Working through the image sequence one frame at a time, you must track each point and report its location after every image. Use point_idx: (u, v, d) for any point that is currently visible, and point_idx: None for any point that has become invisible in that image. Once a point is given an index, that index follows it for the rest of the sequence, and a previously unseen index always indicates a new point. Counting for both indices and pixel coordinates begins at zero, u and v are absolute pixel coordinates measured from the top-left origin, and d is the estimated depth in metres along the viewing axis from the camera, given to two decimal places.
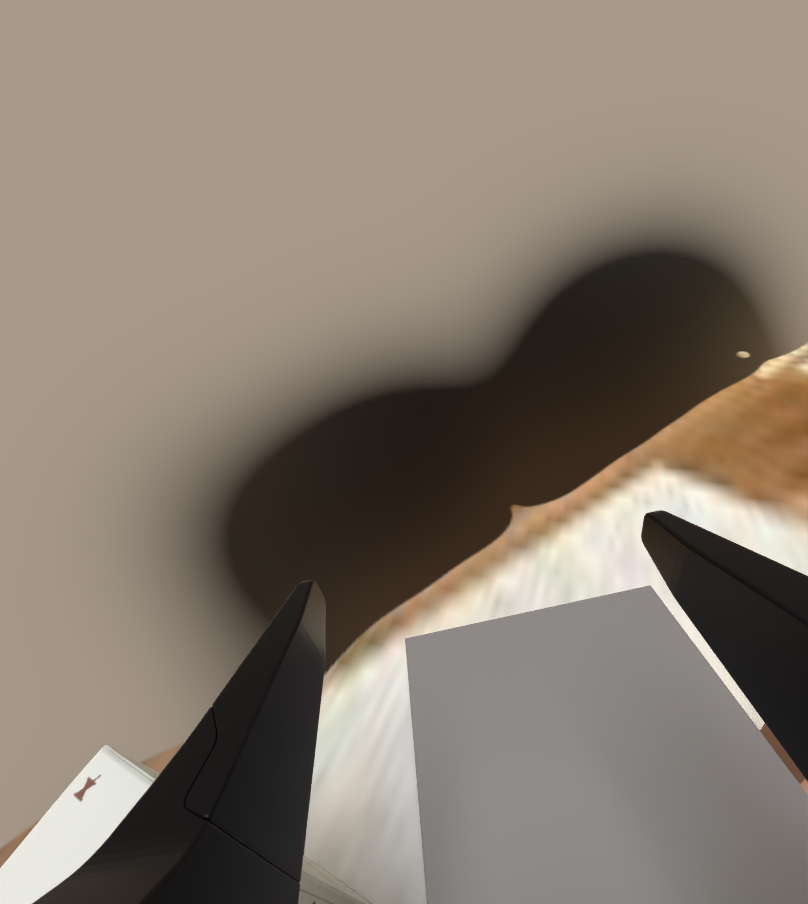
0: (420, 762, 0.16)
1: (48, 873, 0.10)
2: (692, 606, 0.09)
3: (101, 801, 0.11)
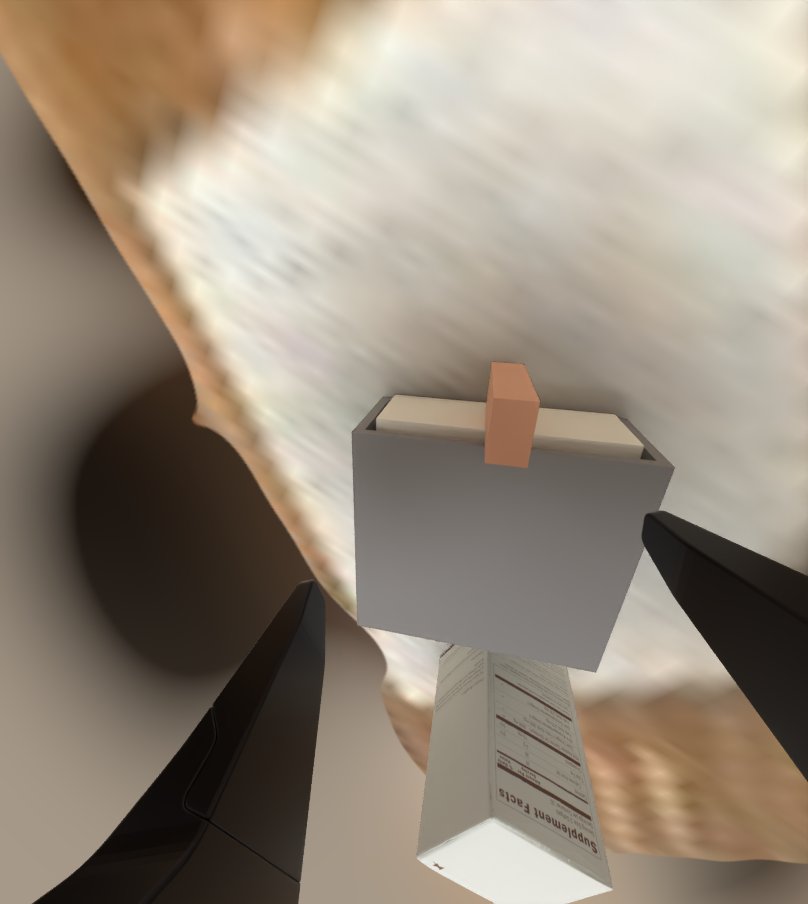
0: (443, 639, 0.22)
1: (472, 876, 0.20)
2: (692, 606, 0.09)
3: (447, 862, 0.20)
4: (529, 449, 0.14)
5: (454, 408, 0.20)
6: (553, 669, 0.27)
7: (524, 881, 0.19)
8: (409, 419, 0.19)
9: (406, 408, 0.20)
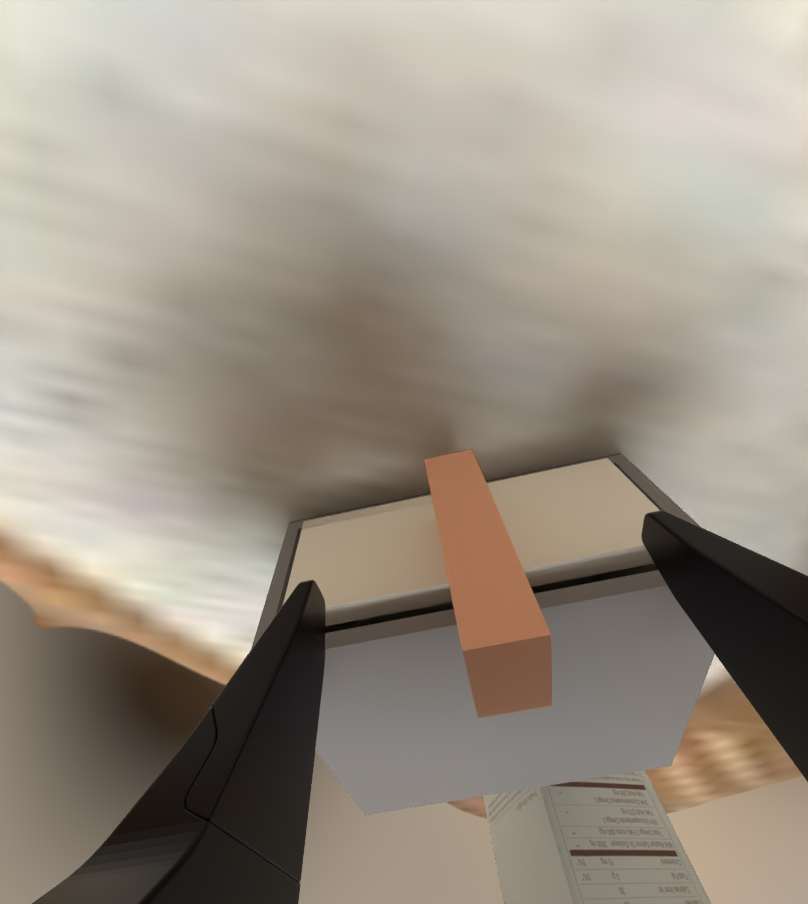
0: (479, 794, 0.17)
1: None
2: (692, 606, 0.09)
3: None
4: (549, 688, 0.08)
5: (393, 529, 0.14)
6: None
7: None
8: (331, 596, 0.12)
9: (323, 559, 0.13)
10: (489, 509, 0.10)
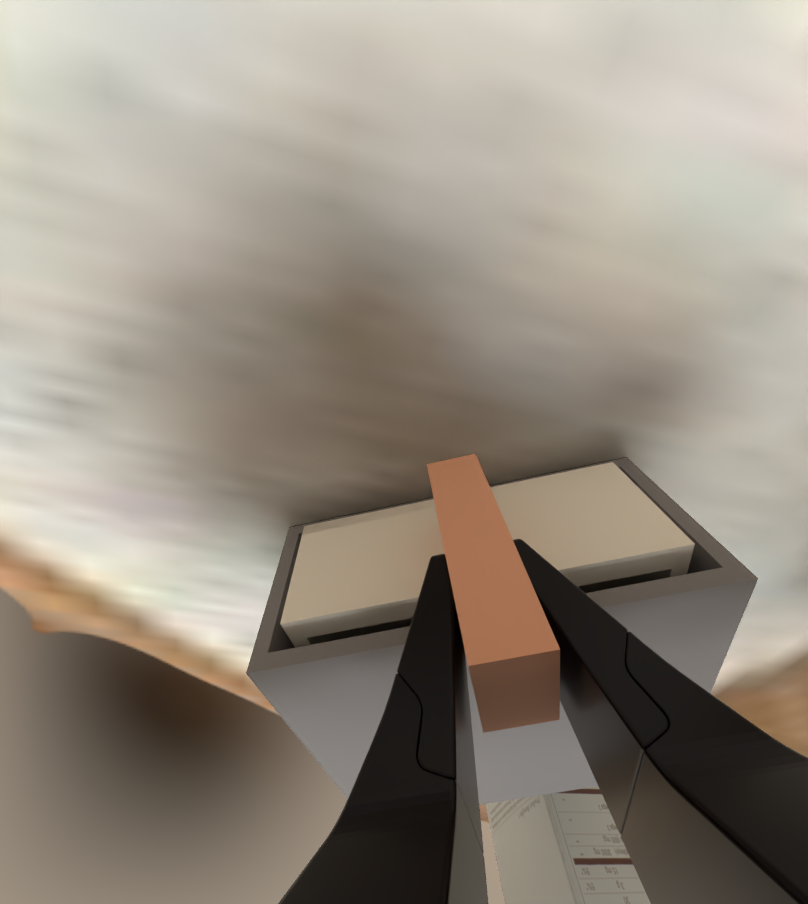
0: (482, 802, 0.17)
1: None
2: None
3: None
4: (557, 703, 0.07)
5: (395, 535, 0.13)
6: None
7: None
8: (332, 603, 0.11)
9: (324, 564, 0.13)
10: (494, 516, 0.09)
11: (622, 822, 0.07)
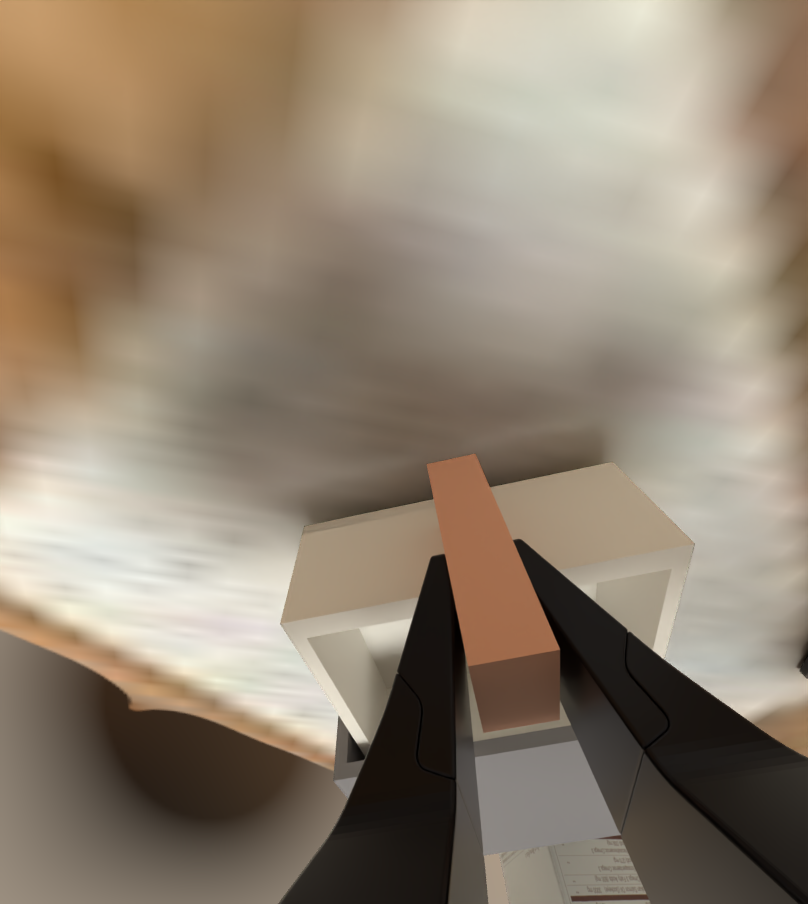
0: (497, 852, 0.21)
1: None
2: None
3: None
4: (557, 703, 0.07)
5: (395, 535, 0.13)
6: None
7: None
8: (332, 604, 0.11)
9: (323, 565, 0.13)
10: (494, 516, 0.09)
11: (622, 822, 0.07)
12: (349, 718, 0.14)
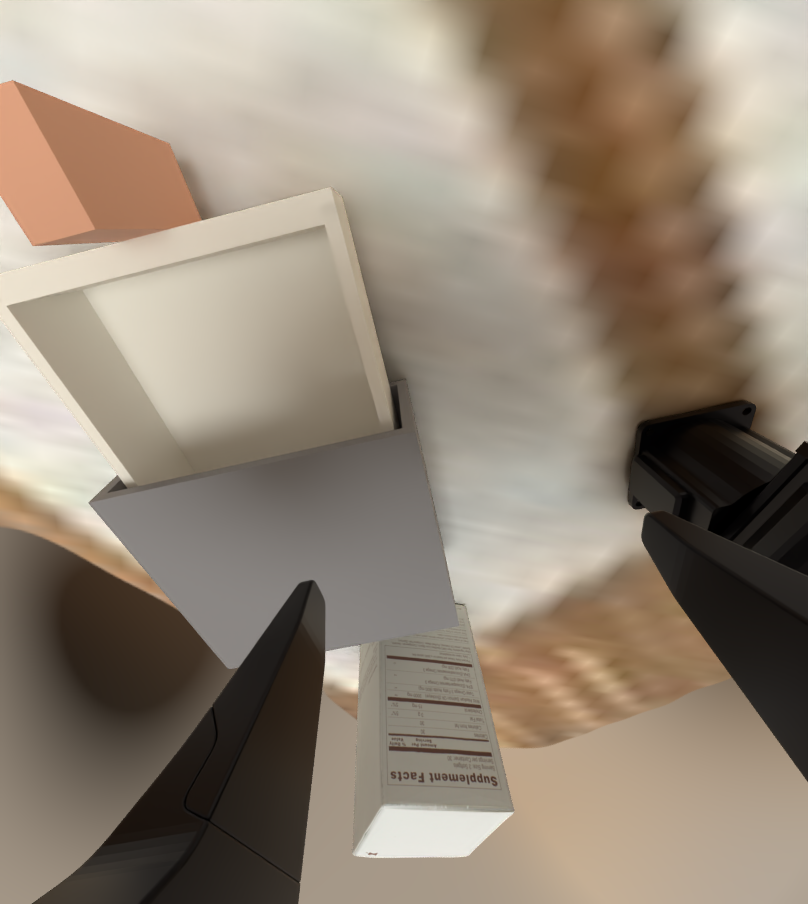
0: None
1: (403, 849, 0.21)
2: (692, 606, 0.09)
3: (376, 848, 0.21)
4: (70, 190, 0.08)
5: None
6: None
7: (443, 836, 0.20)
8: (24, 268, 0.12)
9: None
10: None
11: None
12: (99, 440, 0.15)
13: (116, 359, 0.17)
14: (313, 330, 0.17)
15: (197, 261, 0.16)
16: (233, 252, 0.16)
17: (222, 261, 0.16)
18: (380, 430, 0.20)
